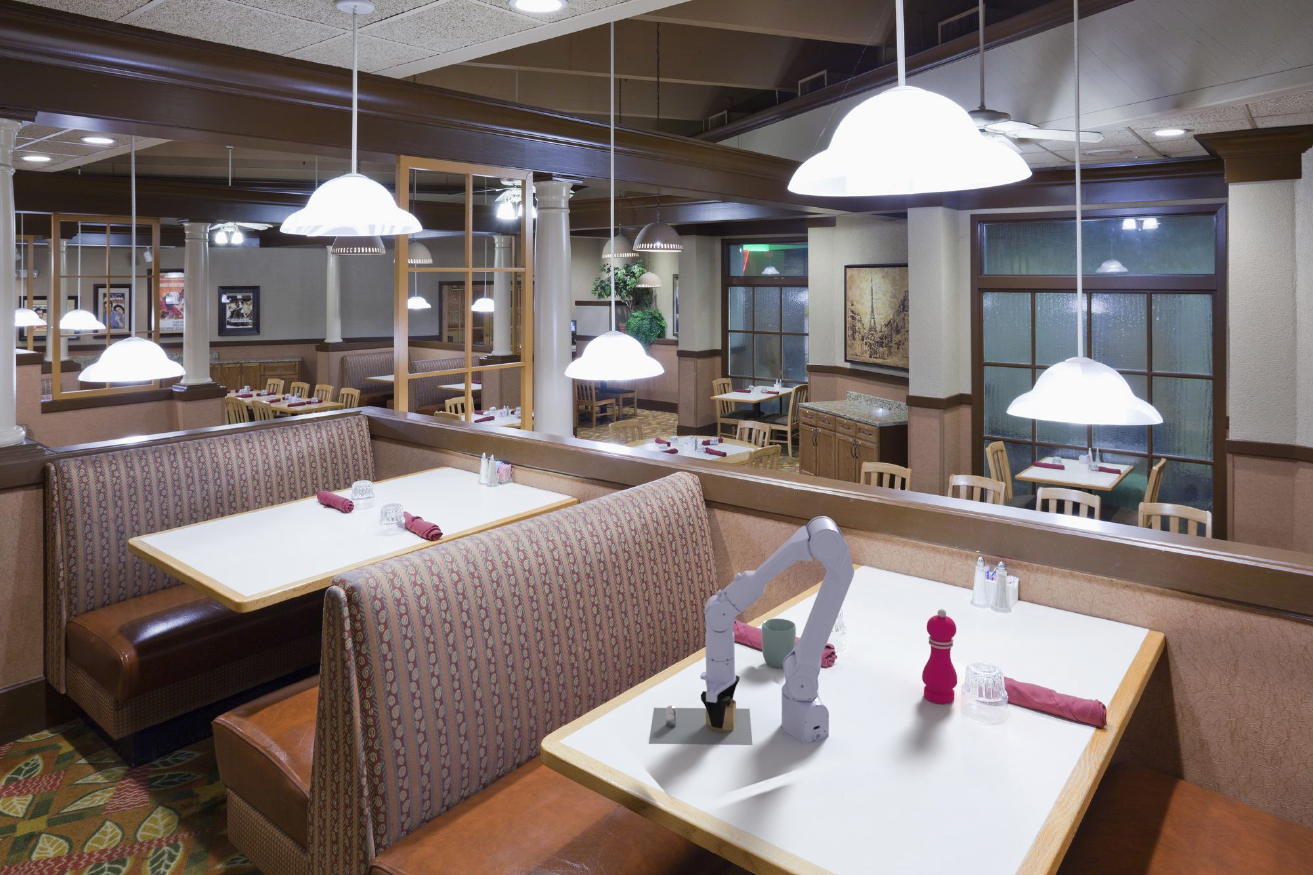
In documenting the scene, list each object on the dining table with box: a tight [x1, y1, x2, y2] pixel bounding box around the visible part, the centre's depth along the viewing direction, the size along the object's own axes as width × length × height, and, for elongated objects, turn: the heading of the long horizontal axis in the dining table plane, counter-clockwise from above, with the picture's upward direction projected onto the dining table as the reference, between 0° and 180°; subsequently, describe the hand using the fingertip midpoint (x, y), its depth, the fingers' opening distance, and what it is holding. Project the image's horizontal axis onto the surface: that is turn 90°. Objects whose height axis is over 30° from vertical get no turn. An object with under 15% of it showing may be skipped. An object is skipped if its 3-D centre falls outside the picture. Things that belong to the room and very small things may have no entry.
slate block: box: [648, 707, 753, 746], centre depth 169 cm, size 20×14×2 cm
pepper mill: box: [921, 608, 958, 705], centre depth 179 cm, size 7×7×20 cm
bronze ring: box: [706, 697, 737, 733], centre depth 168 cm, size 6×6×5 cm
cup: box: [761, 618, 797, 669], centre depth 198 cm, size 8×8×10 cm
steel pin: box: [665, 705, 677, 728], centre depth 169 cm, size 2×2×4 cm
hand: (721, 718), depth 169 cm, fingers closed on bronze ring, 6 cm apart
